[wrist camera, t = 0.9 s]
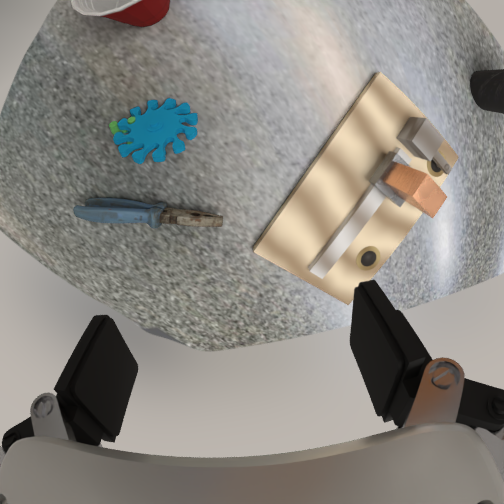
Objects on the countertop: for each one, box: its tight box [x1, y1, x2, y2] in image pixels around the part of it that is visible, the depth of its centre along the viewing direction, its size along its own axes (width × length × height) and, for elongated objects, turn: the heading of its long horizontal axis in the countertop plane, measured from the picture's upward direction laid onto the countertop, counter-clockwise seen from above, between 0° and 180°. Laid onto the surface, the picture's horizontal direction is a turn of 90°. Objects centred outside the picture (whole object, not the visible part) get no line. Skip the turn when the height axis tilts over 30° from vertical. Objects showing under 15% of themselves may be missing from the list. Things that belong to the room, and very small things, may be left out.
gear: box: [109, 98, 198, 164], centre depth 30 cm, size 11×6×10 cm
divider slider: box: [369, 151, 447, 218], centre depth 29 cm, size 5×10×10 cm, turn 57°
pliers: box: [73, 198, 223, 228], centre depth 34 cm, size 20×2×6 cm, turn 82°
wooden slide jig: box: [253, 72, 458, 305], centre depth 34 cm, size 30×18×6 cm, turn 147°
